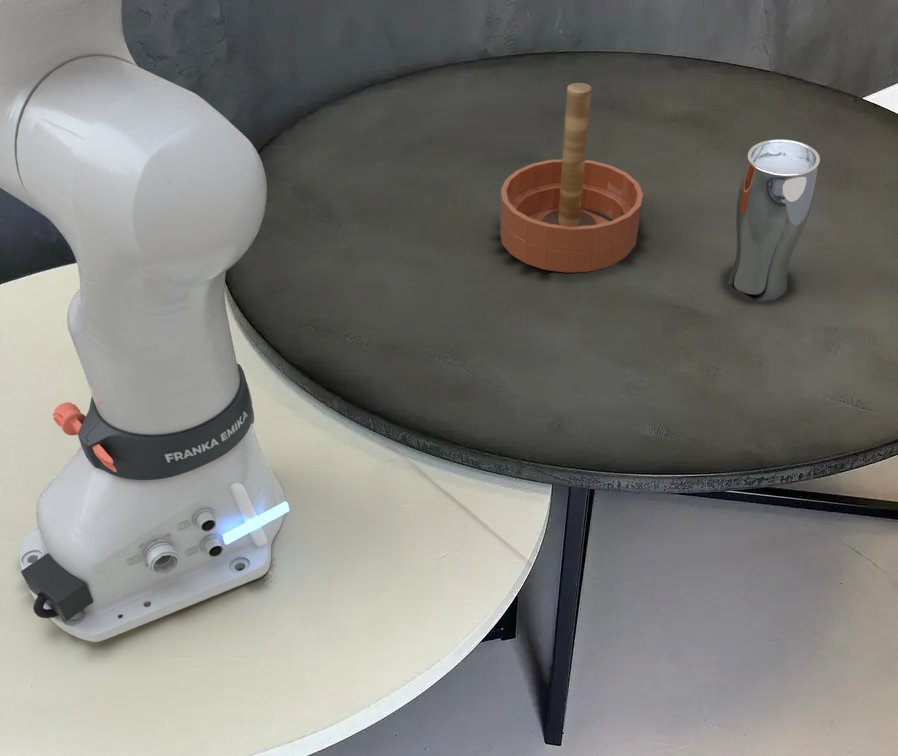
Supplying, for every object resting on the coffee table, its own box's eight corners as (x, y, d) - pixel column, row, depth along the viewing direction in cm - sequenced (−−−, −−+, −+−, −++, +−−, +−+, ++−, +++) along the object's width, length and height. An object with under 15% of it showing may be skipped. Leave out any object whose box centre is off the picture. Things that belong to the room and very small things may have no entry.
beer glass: (791, 311, 101) (824, 178, 90) (721, 306, 102) (745, 174, 91) (789, 271, 105) (820, 139, 94) (722, 267, 106) (745, 136, 95)
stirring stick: (567, 255, 108) (579, 106, 96) (530, 233, 111) (536, 86, 99) (605, 236, 110) (622, 88, 98) (568, 215, 113) (579, 70, 102)
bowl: (566, 295, 104) (570, 245, 99) (472, 238, 112) (472, 189, 108) (664, 244, 110) (672, 194, 106) (568, 193, 118) (572, 145, 114)
